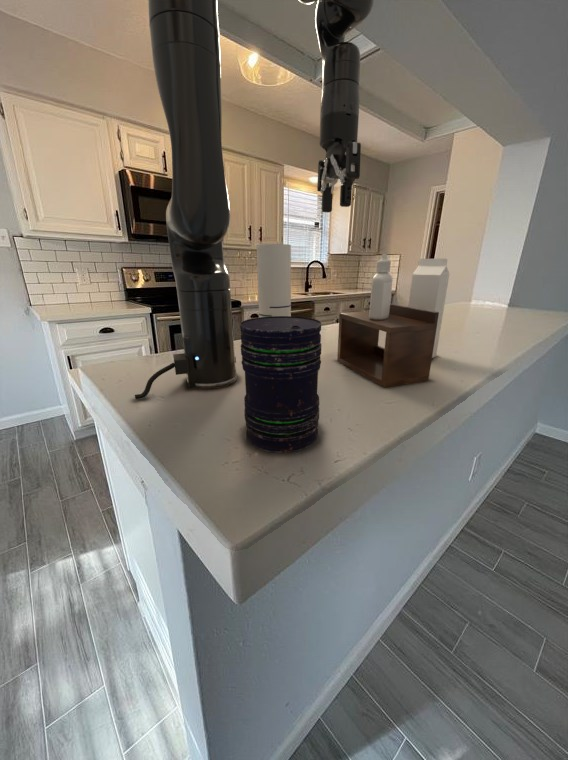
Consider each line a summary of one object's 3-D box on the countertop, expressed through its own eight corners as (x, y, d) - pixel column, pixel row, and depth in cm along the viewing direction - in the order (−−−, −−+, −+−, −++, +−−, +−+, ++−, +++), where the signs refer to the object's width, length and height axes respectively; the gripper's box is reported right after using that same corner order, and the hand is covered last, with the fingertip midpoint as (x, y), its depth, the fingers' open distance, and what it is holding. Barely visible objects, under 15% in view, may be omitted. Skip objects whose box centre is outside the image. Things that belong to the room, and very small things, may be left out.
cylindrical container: (290, 364, 72) (290, 244, 64) (259, 364, 73) (254, 244, 64) (290, 355, 79) (290, 245, 70) (261, 355, 79) (258, 245, 71)
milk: (427, 361, 73) (443, 258, 66) (401, 356, 77) (413, 258, 69) (436, 356, 78) (452, 258, 70) (411, 351, 81) (424, 258, 74)
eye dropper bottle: (397, 318, 63) (404, 253, 59) (375, 320, 61) (381, 253, 57) (381, 315, 67) (387, 253, 63) (360, 317, 65) (365, 253, 61)
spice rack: (384, 387, 59) (392, 315, 54) (337, 360, 75) (339, 303, 70) (428, 380, 62) (439, 312, 57) (373, 356, 78) (378, 301, 73)
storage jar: (232, 428, 45) (224, 321, 40) (289, 410, 50) (289, 313, 45) (271, 463, 37) (268, 335, 32) (334, 437, 42) (340, 324, 37)
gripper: (307, 128, 69) (306, 213, 74) (339, 98, 56) (335, 203, 62) (339, 132, 71) (335, 214, 77) (376, 104, 58) (369, 205, 64)
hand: (335, 209), depth 69 cm, fingers open, 8 cm apart
